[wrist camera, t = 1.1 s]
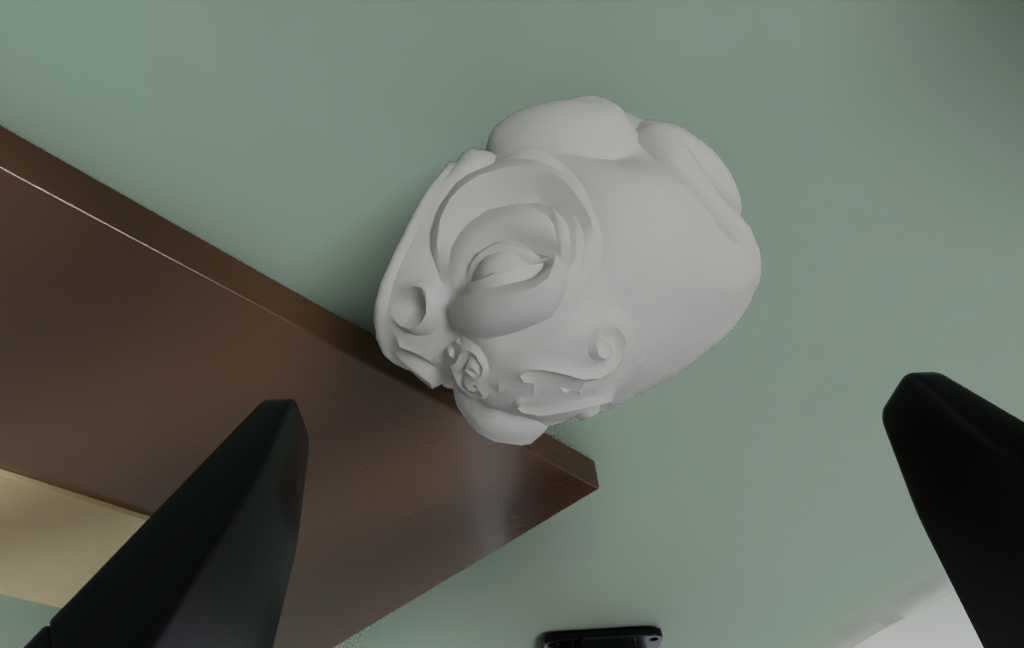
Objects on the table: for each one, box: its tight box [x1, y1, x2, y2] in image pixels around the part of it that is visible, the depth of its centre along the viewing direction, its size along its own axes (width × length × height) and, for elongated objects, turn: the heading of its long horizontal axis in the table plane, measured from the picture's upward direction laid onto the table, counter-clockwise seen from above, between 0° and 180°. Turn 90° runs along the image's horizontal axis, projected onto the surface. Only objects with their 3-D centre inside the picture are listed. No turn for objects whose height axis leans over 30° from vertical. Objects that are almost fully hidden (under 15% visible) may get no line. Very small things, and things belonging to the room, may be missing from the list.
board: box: [0, 126, 599, 648], centre depth 21 cm, size 20×20×1 cm
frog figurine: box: [374, 95, 762, 445], centre depth 11 cm, size 6×7×7 cm
